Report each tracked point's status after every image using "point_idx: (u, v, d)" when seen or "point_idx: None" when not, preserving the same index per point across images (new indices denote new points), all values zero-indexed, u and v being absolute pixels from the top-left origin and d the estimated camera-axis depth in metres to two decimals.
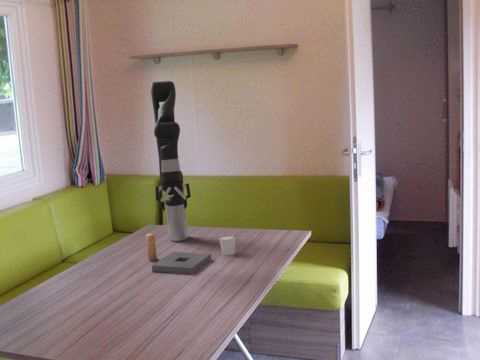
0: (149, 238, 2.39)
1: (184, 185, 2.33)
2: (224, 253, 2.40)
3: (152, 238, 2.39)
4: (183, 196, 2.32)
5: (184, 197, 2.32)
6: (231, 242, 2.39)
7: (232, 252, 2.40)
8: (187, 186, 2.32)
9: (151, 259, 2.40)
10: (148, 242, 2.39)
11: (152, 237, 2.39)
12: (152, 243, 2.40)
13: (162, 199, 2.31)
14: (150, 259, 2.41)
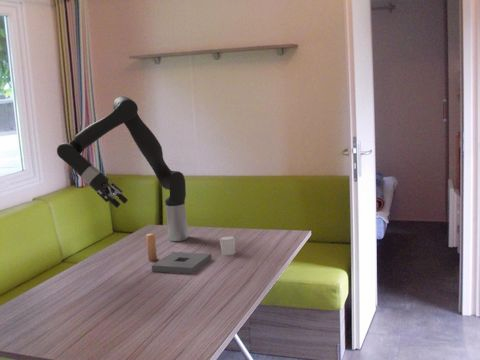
0: (149, 238, 2.39)
1: None
2: (224, 253, 2.40)
3: (152, 238, 2.39)
4: None
5: None
6: (231, 242, 2.39)
7: (232, 252, 2.40)
8: None
9: (151, 259, 2.40)
10: (148, 242, 2.39)
11: (152, 237, 2.39)
12: (152, 243, 2.40)
13: None
14: (150, 259, 2.41)
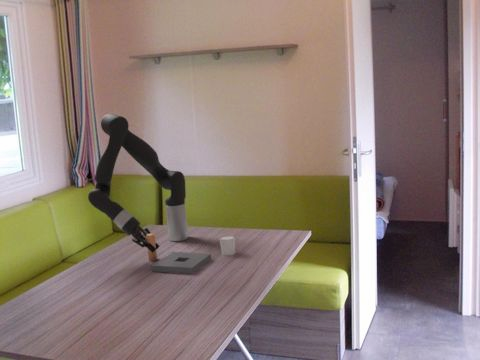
0: (149, 238, 2.39)
1: None
2: (224, 253, 2.40)
3: (152, 238, 2.39)
4: None
5: None
6: (231, 242, 2.39)
7: (232, 252, 2.40)
8: None
9: (151, 259, 2.41)
10: None
11: (152, 237, 2.39)
12: (152, 243, 2.40)
13: None
14: (150, 259, 2.41)
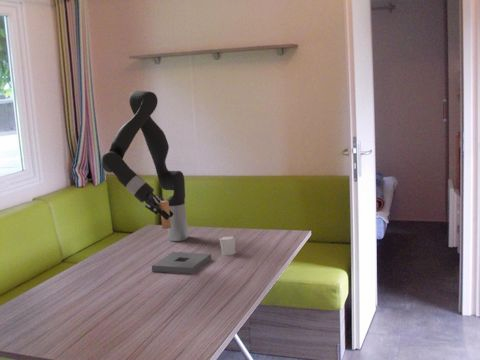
0: (163, 205, 2.29)
1: None
2: (224, 253, 2.40)
3: (166, 205, 2.29)
4: None
5: None
6: (231, 242, 2.39)
7: (232, 252, 2.40)
8: None
9: (165, 227, 2.30)
10: None
11: (166, 204, 2.29)
12: (166, 210, 2.29)
13: None
14: (164, 227, 2.31)
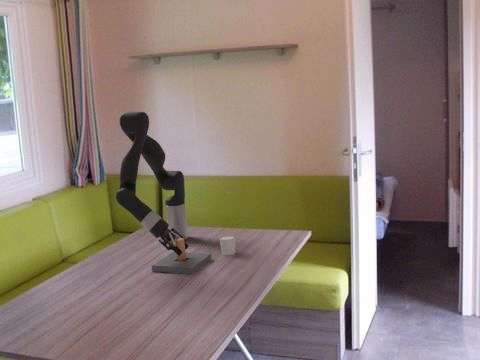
0: (179, 243, 2.28)
1: None
2: (224, 253, 2.40)
3: (182, 243, 2.28)
4: None
5: None
6: (231, 242, 2.39)
7: (232, 252, 2.40)
8: None
9: None
10: (178, 247, 2.28)
11: (182, 242, 2.28)
12: (182, 248, 2.29)
13: None
14: None
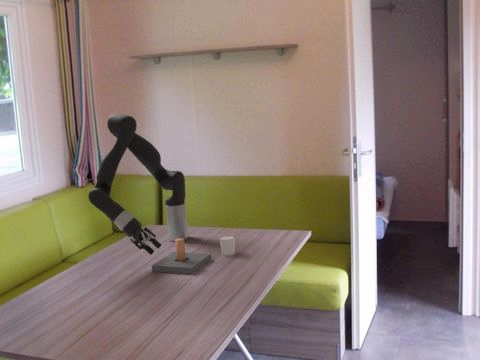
0: (179, 243, 2.28)
1: None
2: (224, 253, 2.40)
3: (182, 243, 2.28)
4: None
5: None
6: (231, 242, 2.39)
7: (232, 252, 2.40)
8: None
9: None
10: (177, 247, 2.28)
11: (182, 242, 2.28)
12: (182, 248, 2.29)
13: None
14: None
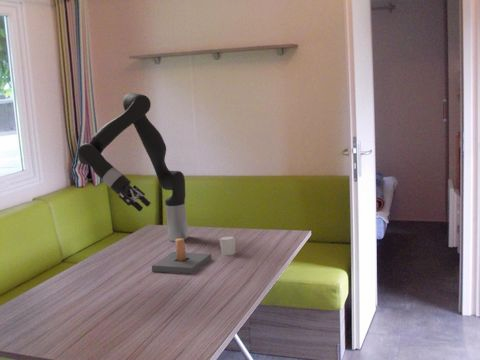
0: (179, 243, 2.28)
1: None
2: (224, 253, 2.40)
3: (182, 243, 2.28)
4: None
5: None
6: (231, 242, 2.39)
7: (232, 252, 2.40)
8: None
9: None
10: (178, 247, 2.28)
11: (182, 242, 2.28)
12: (182, 248, 2.28)
13: None
14: None
